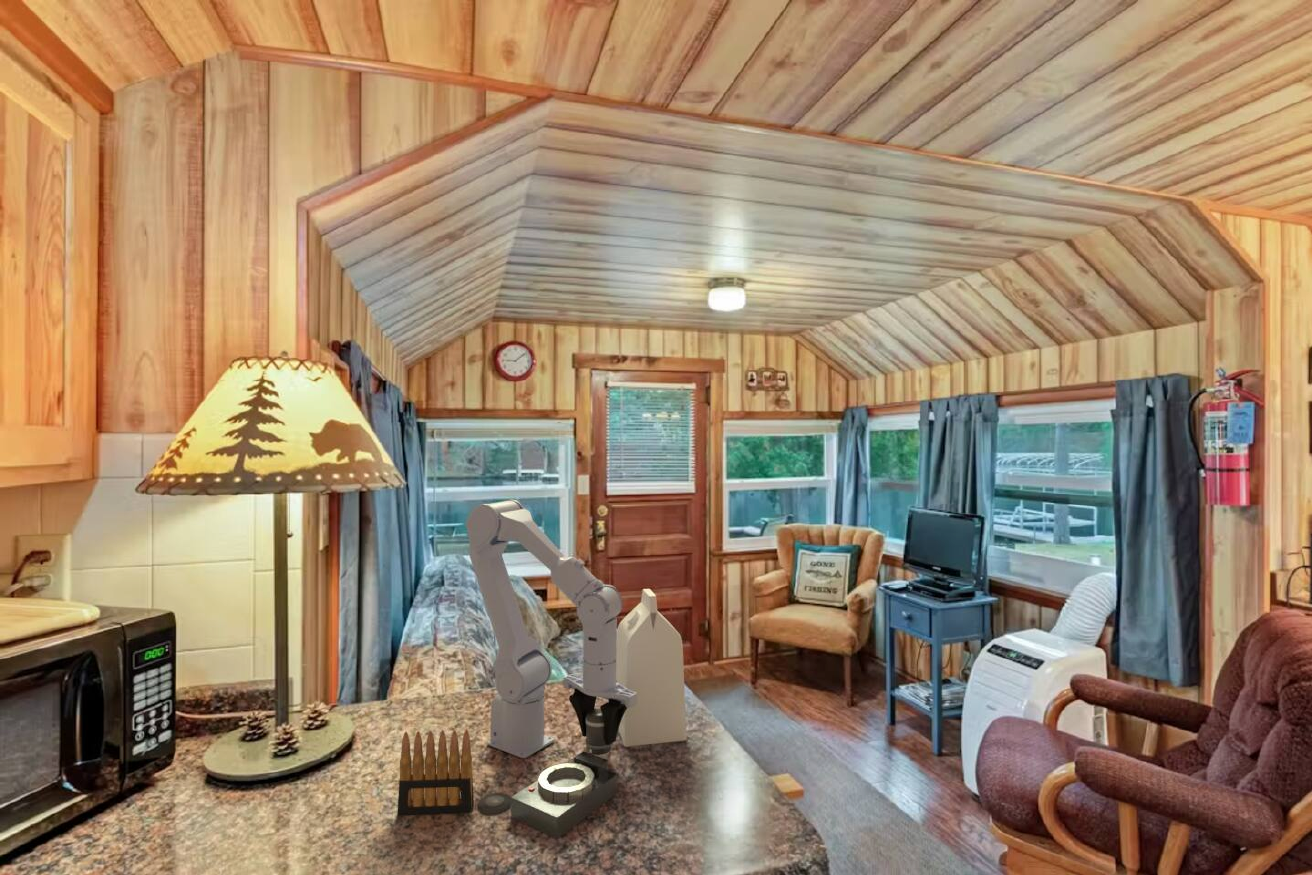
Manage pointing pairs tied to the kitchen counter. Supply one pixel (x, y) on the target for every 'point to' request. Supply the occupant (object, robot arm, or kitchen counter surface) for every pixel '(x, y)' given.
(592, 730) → the lens
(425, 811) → the ammunition clip
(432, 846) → the kitchen counter surface
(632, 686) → the milk
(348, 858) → the kitchen counter surface
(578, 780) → the camera body
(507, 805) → the lens cap
